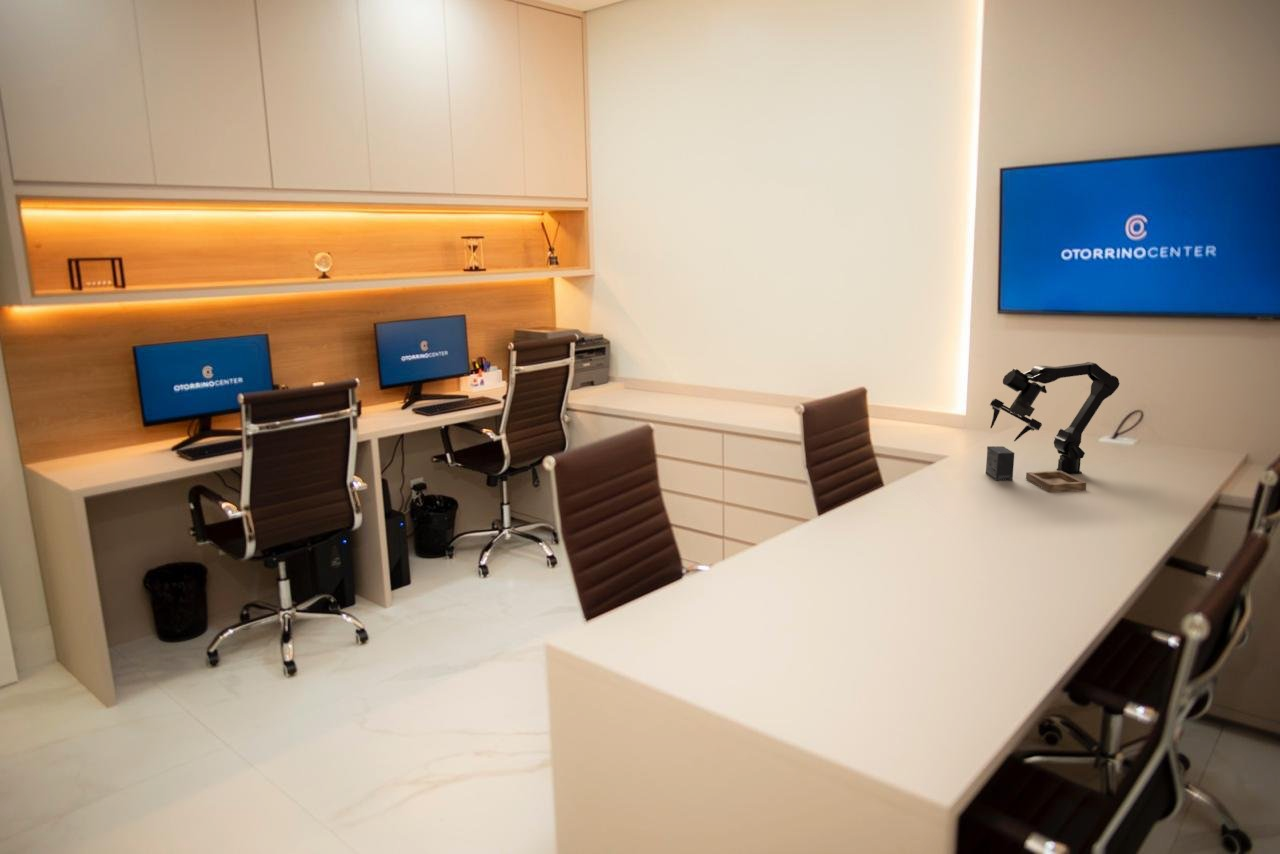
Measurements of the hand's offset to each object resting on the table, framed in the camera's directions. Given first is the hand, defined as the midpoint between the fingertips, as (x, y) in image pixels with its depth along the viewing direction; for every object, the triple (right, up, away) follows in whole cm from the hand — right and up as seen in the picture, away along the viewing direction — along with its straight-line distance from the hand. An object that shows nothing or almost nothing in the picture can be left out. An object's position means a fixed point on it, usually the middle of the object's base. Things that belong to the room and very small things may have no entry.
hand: (1002, 434), depth 310 cm
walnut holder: (+15, -18, -9) cm, 25 cm away
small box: (0, -16, +3) cm, 16 cm away
